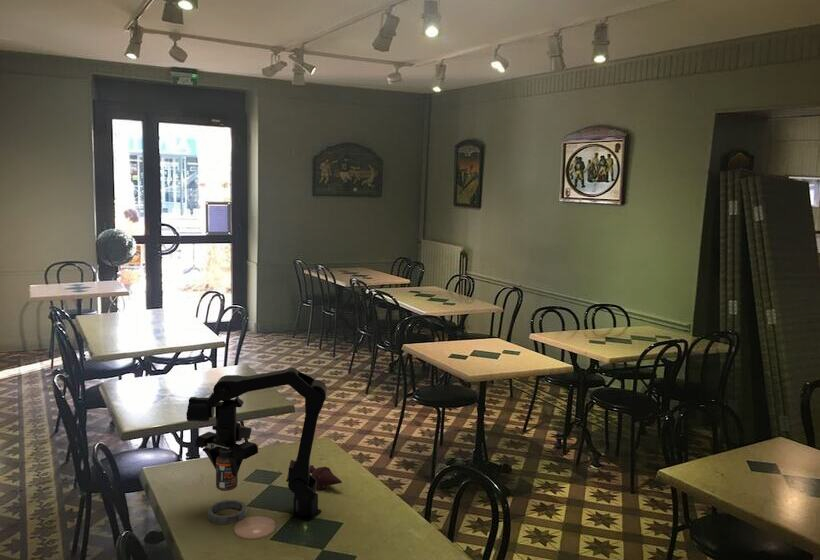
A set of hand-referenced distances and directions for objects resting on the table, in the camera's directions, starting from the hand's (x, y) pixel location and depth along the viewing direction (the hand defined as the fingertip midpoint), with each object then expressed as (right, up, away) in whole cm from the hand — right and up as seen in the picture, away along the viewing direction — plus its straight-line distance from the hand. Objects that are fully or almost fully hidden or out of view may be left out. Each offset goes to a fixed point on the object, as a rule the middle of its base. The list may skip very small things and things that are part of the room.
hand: (226, 473), depth 188 cm
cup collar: (0, -12, +2) cm, 12 cm away
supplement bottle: (0, -4, +1) cm, 4 cm away
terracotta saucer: (+9, -14, -6) cm, 17 cm away
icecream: (+25, -11, +21) cm, 34 cm away
